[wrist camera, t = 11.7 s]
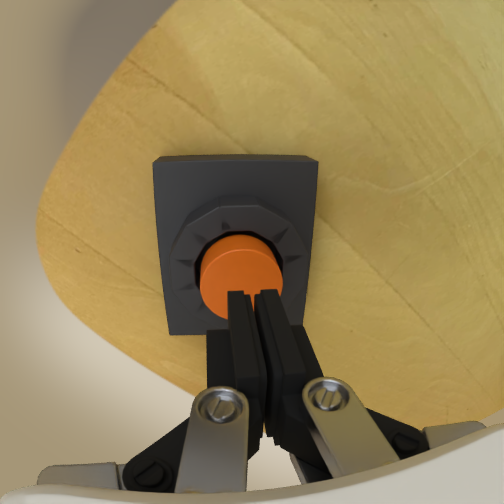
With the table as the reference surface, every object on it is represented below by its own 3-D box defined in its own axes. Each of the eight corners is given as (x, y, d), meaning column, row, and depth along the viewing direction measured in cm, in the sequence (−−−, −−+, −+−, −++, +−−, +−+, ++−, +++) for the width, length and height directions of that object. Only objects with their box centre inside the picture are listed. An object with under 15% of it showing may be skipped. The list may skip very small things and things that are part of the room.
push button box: (294, 309, 21) (309, 348, 18) (172, 314, 20) (166, 355, 17) (306, 155, 17) (331, 167, 14) (159, 156, 16) (144, 168, 13)
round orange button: (273, 299, 16) (280, 319, 15) (202, 302, 16) (202, 323, 14) (277, 233, 15) (285, 248, 13) (199, 235, 15) (197, 250, 13)
